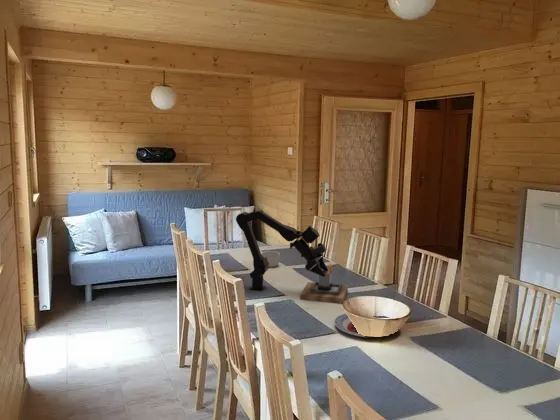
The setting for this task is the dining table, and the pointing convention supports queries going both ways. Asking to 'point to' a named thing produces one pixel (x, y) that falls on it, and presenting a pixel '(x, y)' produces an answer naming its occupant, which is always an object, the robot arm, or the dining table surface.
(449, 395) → the dining table surface
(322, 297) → the dock
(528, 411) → the dining table surface
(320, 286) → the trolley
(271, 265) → the teacup
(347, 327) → the ceramic plate
